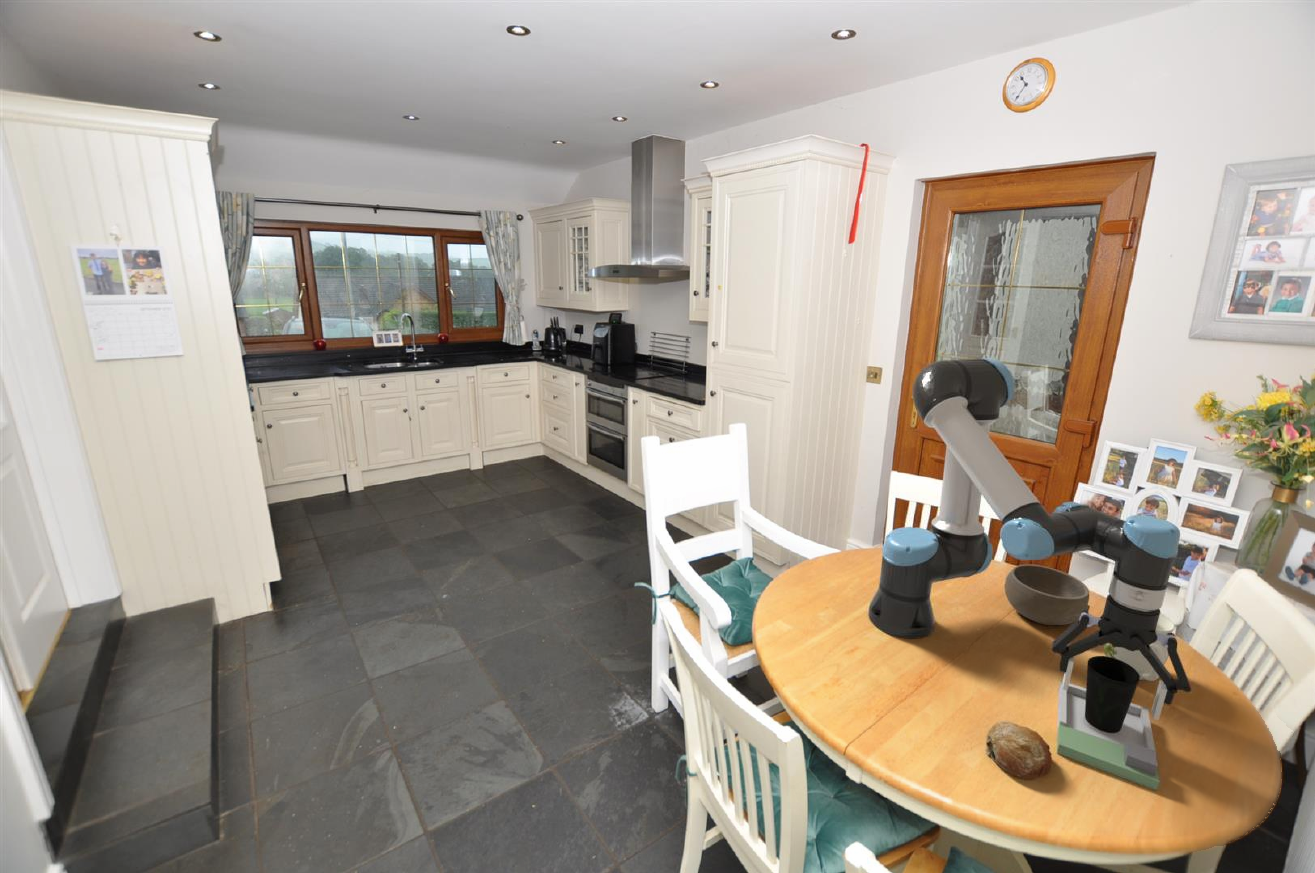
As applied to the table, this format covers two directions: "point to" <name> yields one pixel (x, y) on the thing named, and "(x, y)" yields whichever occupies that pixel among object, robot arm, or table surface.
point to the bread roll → (1018, 750)
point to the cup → (1109, 692)
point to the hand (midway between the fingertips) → (1108, 700)
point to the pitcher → (1136, 657)
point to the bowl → (1046, 594)
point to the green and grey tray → (1107, 740)
